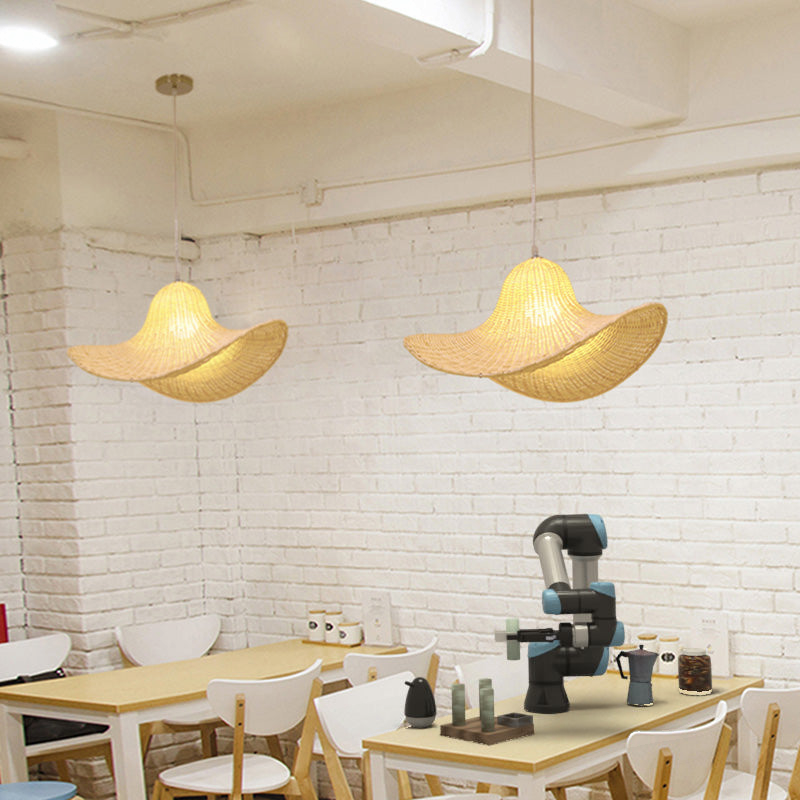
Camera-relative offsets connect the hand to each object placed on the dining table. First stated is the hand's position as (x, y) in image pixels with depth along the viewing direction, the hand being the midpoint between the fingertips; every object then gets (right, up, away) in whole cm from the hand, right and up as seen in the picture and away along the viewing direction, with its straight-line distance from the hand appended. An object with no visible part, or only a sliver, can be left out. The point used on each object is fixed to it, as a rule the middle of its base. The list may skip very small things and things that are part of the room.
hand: (495, 636), depth 356 cm
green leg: (+6, -7, -1) cm, 9 cm away
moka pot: (+52, -31, +39) cm, 72 cm away
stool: (-3, -29, -2) cm, 30 cm away
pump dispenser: (-22, -31, +13) cm, 40 cm away
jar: (+76, -32, +58) cm, 101 cm away
